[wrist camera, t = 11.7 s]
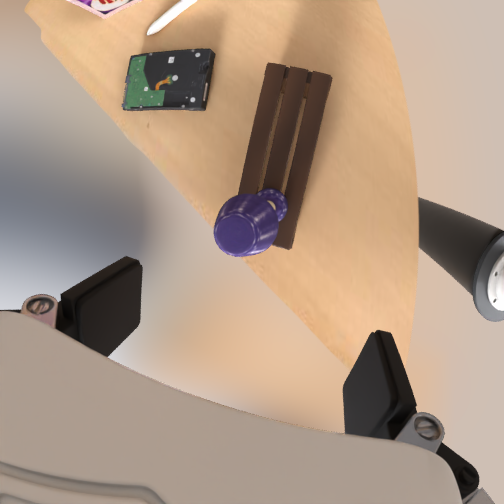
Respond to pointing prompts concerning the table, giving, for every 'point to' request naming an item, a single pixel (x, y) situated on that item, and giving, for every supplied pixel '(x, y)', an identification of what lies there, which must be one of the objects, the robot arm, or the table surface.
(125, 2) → the greeting card
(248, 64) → the table surface
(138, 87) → the disk drive
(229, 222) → the toy lamp
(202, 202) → the table surface
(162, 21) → the marker
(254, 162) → the bench
